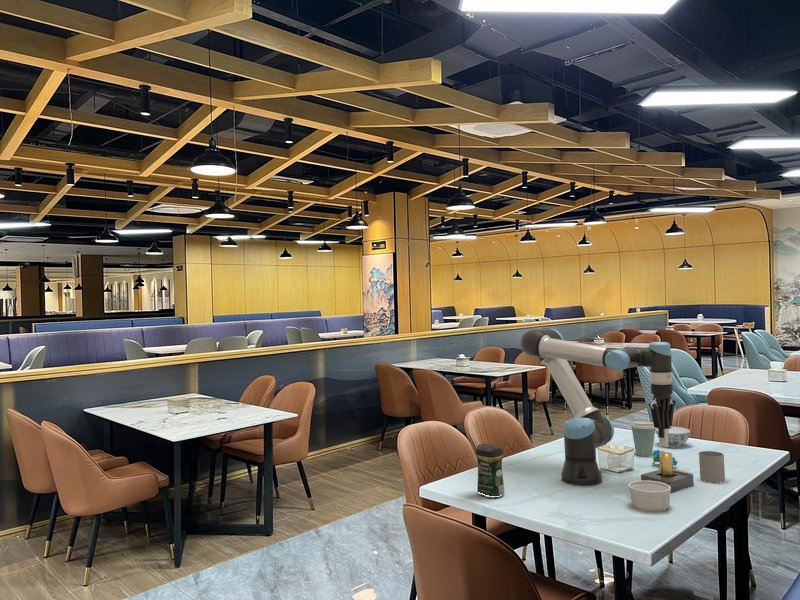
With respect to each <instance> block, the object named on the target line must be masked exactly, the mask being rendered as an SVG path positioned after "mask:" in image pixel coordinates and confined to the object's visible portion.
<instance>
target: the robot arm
mask: <svg viewBox="0 0 800 600" xmlns="http://www.w3.org/2000/svg"><path fill="white" fill-rule="evenodd" d="M519 342H520V344H519V345H520V348H521V351H522V352H523V353H524V354H525V355H526V356H529V357H532V358H538V361H539V362H540V363H541V364H542V365H545V366H546V368H547V369H548V371H549V373H550V375H551V377H552V379H553V380H554V382H555V383H556V385H557V387H558V390H559V391H560V393H561V395H562V397H563V398H564V400H565V402H566V404H567V406H568V407H569V409H570V410H571V413H572V415H573V418H570V419H568V420H566V421H565V422H564V424H563V433H562V434H563V440H564V445H563V446H564V458H565V459H564V463H563V468H562V471H561V475H560V476H561V481H562V482H563V481H564V482H563V483H565V482H566V483H565V484H568V485H571V484H572V485H573V486H578V485H580V487H585V486H586V487H587V486H589V487H590V486H591V487H592V486H596V485H597V486H598V485H601V484H602V483H603V478H602V472H600V468H599V465H598V463H597V451H596V450H597V449H598V448H600V447H604V446H605V445H607V444H608V443H609V442H611V441H612V439H613V437H614V435H615V429H614V428H615V426H614V424H613V422H612V421H611V419H609V417H607V416H605V415H603V414H602V412H601V411H600V409H599V408H598V407H595V406H593V404H592V402H591V400H590V399H589V397H588V396H587V393H586V392H585V390H584V388H583V387H582V385H581V382H580V381H579V380H578V378H577V376H576V374H575V373H574V371H573V369H572V367H571V365H570V364H569V362H568V361H571V362H577V363H583V364H588V365H593V366H600V367H605V368H609V370H612V371H623V370H625V369H629V368H636V367H637V368H638V367H639V368H642V367H643V368H644V367H646V368H649V377H650V378H649V379H650V381H649V382H650V383H651V384H650V393H651V394H653V398H652V402H649V403H648V407H649V409H650V413H651V414H650V415H651V418H652V422H653V424H654V427H656V428H658V431H659V438H658V441H659V443H658V444H659V446H660V447H664V448H669V447H668V429H671V427H673V421H674V412H675V411H674V410H675V405H676V400H675V399H674V400H673V399H672V396H671V395H672V394H673V393H674V391H673V390H674V389H673V384H672V383H673V374H672V373H673V370H672V369H673V368H672V366H673V365H672V364H673V363H672V361H673V360H672V348H671V343H669V342H667V341H658V342H657V341H652V342H649V344H648V346H646V347H644V346H643V347H641V346H621V347H619V348H614V347H607V346H603V345H595V344H589V343H582V342H577V341H569V340H564V337H563V336H562V334H561V333H560V332H559V331H558V330H556V329H555V328H549V327H543V328H537V329H530V330H527V331H525V332H524V333H523V334H522V336H521V337H520V341H519ZM656 428H655V429H656Z"/></svg>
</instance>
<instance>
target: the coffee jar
mask: <svg viewBox="0 0 800 600" xmlns="http://www.w3.org/2000/svg"><path fill="white" fill-rule="evenodd" d="M475 457H476V461H477V488H476V489H477V493H478V492H480V493H483V494H485V495H489V496H500V495H503V494H504V495H505V484H504V477H503V467H502V466H503V465H502V463H503V458H504V453H503V448H502V447H501V446H500V445H493V444H489V443H480V444H477V446H476V450H475ZM504 495H503V496H504Z"/></svg>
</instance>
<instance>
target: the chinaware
mask: <svg viewBox="0 0 800 600" xmlns="http://www.w3.org/2000/svg"><path fill="white" fill-rule="evenodd" d="M670 427H671V429H668V447H667V448H671V447H679V448H681V447H682V445H684V444H685V443H686V442H687V441H688V440H689V438H690V435H691V434H690V433H691V430H690V429H689V428H685V427H681V426H670ZM655 434H656V436H657V438H658V439H659V431H658V428H655Z"/></svg>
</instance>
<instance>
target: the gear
mask: <svg viewBox="0 0 800 600" xmlns="http://www.w3.org/2000/svg"><path fill="white" fill-rule="evenodd" d="M660 452H665V451H664V450H660V449H656V450H655V449H653V451H652V455H651V458H652V461H653V462H652V463H651V466H652V465H653V466H654V465H655V464H656V463H660V458H659V453H660ZM672 460H673V467H674V466H675V467H676V466H677V464H678V461H677V460H676V458H675V457H674V456H672ZM658 468H659V469H660V464H659V465H658Z"/></svg>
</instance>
